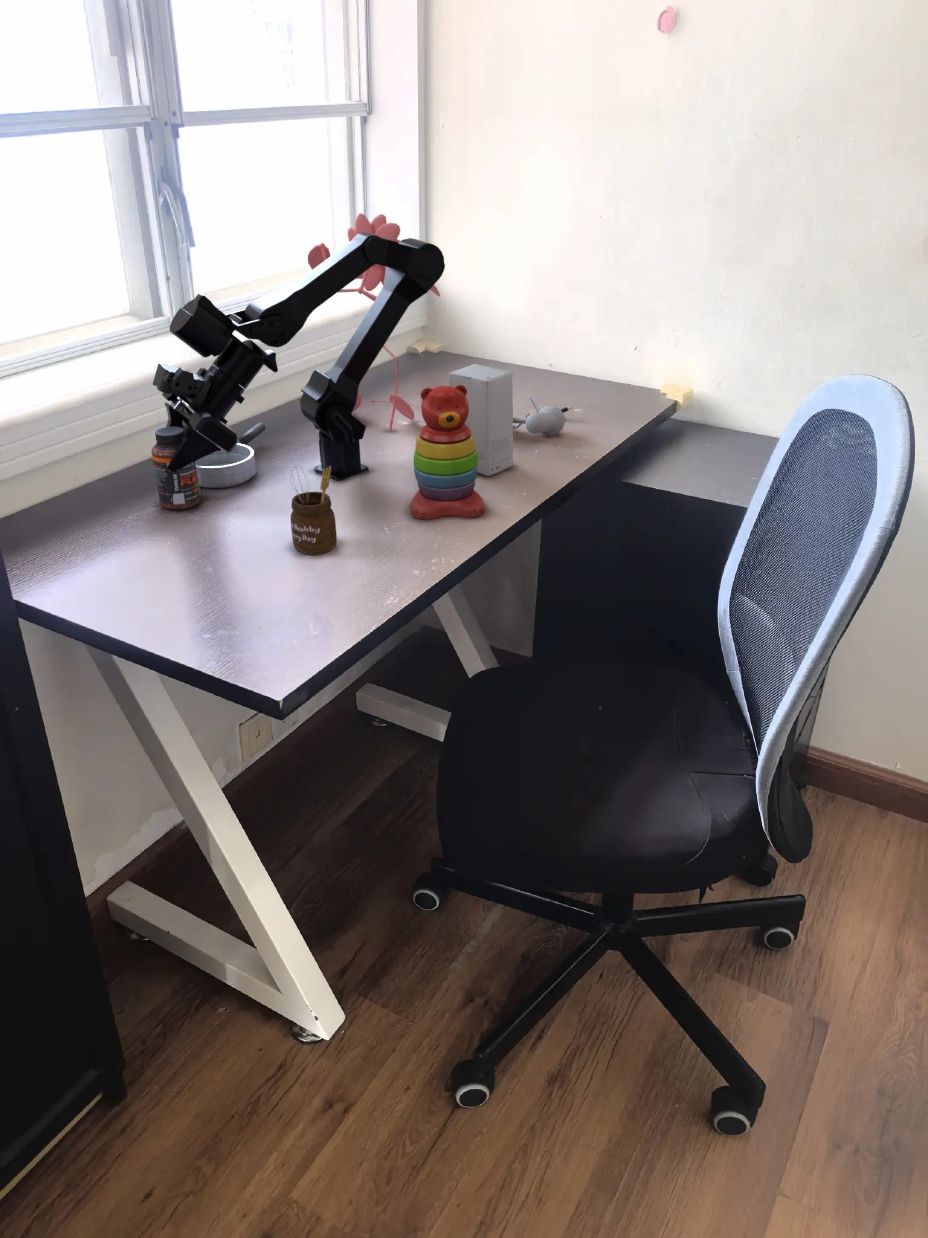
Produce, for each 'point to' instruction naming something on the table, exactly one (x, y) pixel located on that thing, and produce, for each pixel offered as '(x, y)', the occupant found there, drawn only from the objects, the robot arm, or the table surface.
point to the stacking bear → (445, 457)
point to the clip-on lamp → (543, 420)
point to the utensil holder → (313, 519)
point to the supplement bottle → (181, 484)
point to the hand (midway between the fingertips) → (164, 463)
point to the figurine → (370, 287)
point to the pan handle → (250, 434)
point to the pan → (226, 467)
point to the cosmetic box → (489, 414)
